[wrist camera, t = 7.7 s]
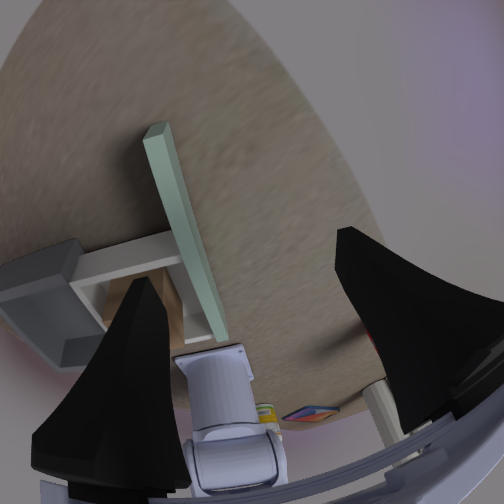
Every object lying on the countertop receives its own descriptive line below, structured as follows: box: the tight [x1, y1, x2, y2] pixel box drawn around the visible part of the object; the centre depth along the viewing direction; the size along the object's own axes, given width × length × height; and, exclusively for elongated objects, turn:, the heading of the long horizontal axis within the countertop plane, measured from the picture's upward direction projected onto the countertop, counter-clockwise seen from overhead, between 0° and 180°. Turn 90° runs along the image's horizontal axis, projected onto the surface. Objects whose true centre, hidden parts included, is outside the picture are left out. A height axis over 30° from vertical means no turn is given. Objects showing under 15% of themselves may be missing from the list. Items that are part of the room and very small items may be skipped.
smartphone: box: [283, 406, 340, 422], centre depth 55 cm, size 7×15×1 cm, turn 45°
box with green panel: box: [69, 120, 229, 344], centre depth 18 cm, size 17×10×4 cm, turn 8°
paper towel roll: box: [362, 378, 424, 468], centre depth 45 cm, size 7×6×21 cm
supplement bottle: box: [255, 404, 282, 441], centre depth 41 cm, size 5×5×10 cm
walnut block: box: [102, 266, 185, 350], centre depth 19 cm, size 4×4×4 cm
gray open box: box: [0, 238, 106, 373], centre depth 20 cm, size 12×10×4 cm
